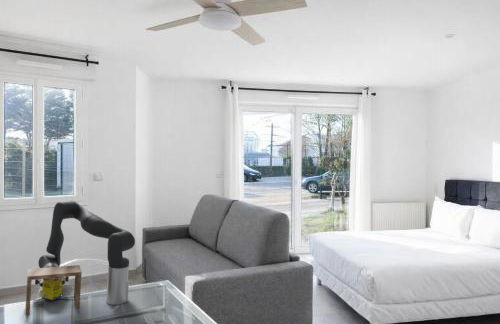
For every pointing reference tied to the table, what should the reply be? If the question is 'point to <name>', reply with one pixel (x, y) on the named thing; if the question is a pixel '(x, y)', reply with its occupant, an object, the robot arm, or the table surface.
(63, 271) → the walnut shelf
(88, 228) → the robot arm
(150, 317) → the table surface
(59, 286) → the supplement box
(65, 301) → the table surface
